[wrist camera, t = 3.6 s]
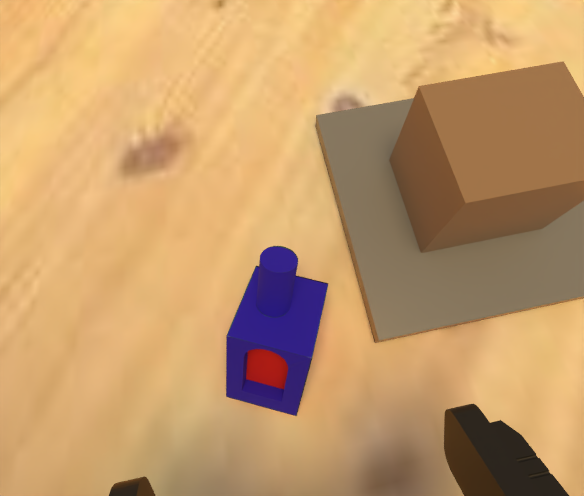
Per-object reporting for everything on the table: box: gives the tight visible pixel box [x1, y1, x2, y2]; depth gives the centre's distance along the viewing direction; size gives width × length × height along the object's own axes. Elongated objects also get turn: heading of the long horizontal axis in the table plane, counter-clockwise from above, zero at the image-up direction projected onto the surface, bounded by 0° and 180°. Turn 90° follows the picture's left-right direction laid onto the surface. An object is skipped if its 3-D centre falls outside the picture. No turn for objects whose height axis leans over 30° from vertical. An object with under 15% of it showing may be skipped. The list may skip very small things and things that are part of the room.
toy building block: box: [226, 246, 328, 416], centre depth 19 cm, size 4×4×8 cm
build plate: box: [316, 62, 584, 343], centre depth 21 cm, size 14×14×7 cm
